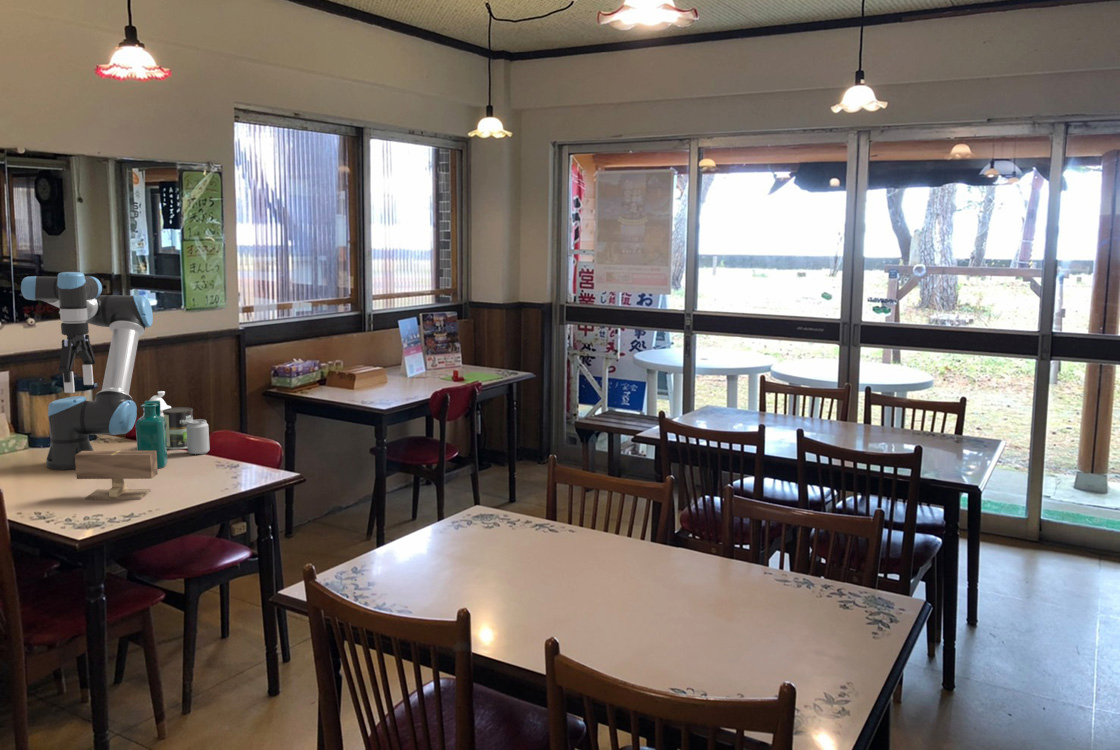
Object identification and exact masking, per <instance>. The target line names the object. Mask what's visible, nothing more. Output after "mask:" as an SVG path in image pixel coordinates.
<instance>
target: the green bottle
mask: <svg viewBox="0 0 1120 750" xmlns="http://www.w3.org/2000/svg"><path fill="white" fill-rule="evenodd" d="M140 407H141V408H142V409H143V408H144V410H143V414H144V416H143V415H142V416H143V417H142V416H141V417H138V419H136V421H135V434H136V451H156V454H157V469H162V468H165V467H166V466H167V464H168V461H169V460H168V449H167V441H166V424H165V418H164V417H163V416H160V413H161V410H160V401H149V400H144V403H143V404H141V405H140Z"/></svg>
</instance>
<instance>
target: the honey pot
mask: <svg viewBox="0 0 1120 750" xmlns="http://www.w3.org/2000/svg"><path fill="white" fill-rule="evenodd" d="M165 394H166V391H164V390H163V391H162V390H160V391H159V390H158V391H157V394H156V395H153V396H152V397H150V399H149V400H148V401H160V410H161V413H160V416H163V410H165V409H168V408H172V406H171V405H170V404H169V405H168V404H167V403H166V401H165V400H164V399H163V397H164V396H165ZM142 409H143V411H144V408H143V407H142ZM143 416H144V413H143V415H142V416H141V417H143Z"/></svg>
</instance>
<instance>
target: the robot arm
mask: <svg viewBox="0 0 1120 750" xmlns="http://www.w3.org/2000/svg"><path fill="white" fill-rule="evenodd" d="M20 291H21V295H22V296H23V298H24V299H25V300H28V301H42V302H44V303H47V304H49V305H52V306H54V307H56V308H58V309H59V311H58V314H59V317H60V321H61V323H60V328H61V329H60V330H61V331H60V333H61V334H62V335H63V336H66V339H61V350H60V357H59V364H58V372H59V373H62V378H63V388H64V389H63V390H64V394H65V393H66V394H74V393H75V392H76V391H75V390H76V389H75V380H74V371H72V370H73V367H74V362H75V359H76V355H77V354H78V355H79V357H80V359H81V361H82V363H83V364H82V377H83V379H82V380H83V385H84V386H93V385H94V374H93V373H94V372H93V365H96V357H95V353H94V351H93V347H92V344H91V340H90V335H89V332H90V330H89V324H90V325H93V326H97V327H100V328H101V327H102V328H109V330H110V331H111V332H112V335H111V339H110V341H111V342H110V346H109V352H108V356H107V361H106V367H105V372H104V377H103V383H102V387H101V390H100V391H98V392H96V394H95V398H94V400H88V398H87V397H86V396H84V395H77V396H76V395H75V396H68V397H64V398H60V399H56V400H53V401H51V402H49V404H48V406H47V407H48V408H47V413H48V414H47V417H48V425H49V426H48V427H49V437H50V439H49V440H50V446H49V449H48V453H47V457H46V460H45V462H46V467H47V468H48V469H50V470H63V471H64V470H76V464H75V455H76V454H78V453H79V452H81V451H95V450H94V448H93V446H92V444H91V442H90V435H91V436H92V435H103V436H104V435H112V436H116V435H125V434H127V433H129V432H130V431H132V430H133V428H134V425H136V422H137V417H138V416H137V411H138V408H137V407H138V406H137V404H136V402H135V401H134V400H133V397H132V396H131V395H130V390H131V389H130V388H131V383H132V377H133V372H134V371H133V370H134V367H135V361H136V356H137V349H138V343H139V339H140V337H141V336H143V335H144V334H145V330H146V328H148V329H149V328H151V327H152V326H153V322H154V321H153V320H154V316H153V308H152V305H151V302H150V300H149V299H148V297H146V296H145V295H136V294H133V295H121V294H120V295H118V294H117V295H115V294H113V295H112V294H111V295H110V294H109V295H107V294H103V295H101V294H102V291H103V285H102V283H101V281H100V280H99V279H98V278H97V277H95V276H91V275H85V274H84V273H83V272H80V271H79V272H78V271H65V272H64V271H63V272H59V273H58V274H57V276H40V275H39V276H37V275H34V276H26V277H24V278H23V279H22V281H21V285H20Z"/></svg>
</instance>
